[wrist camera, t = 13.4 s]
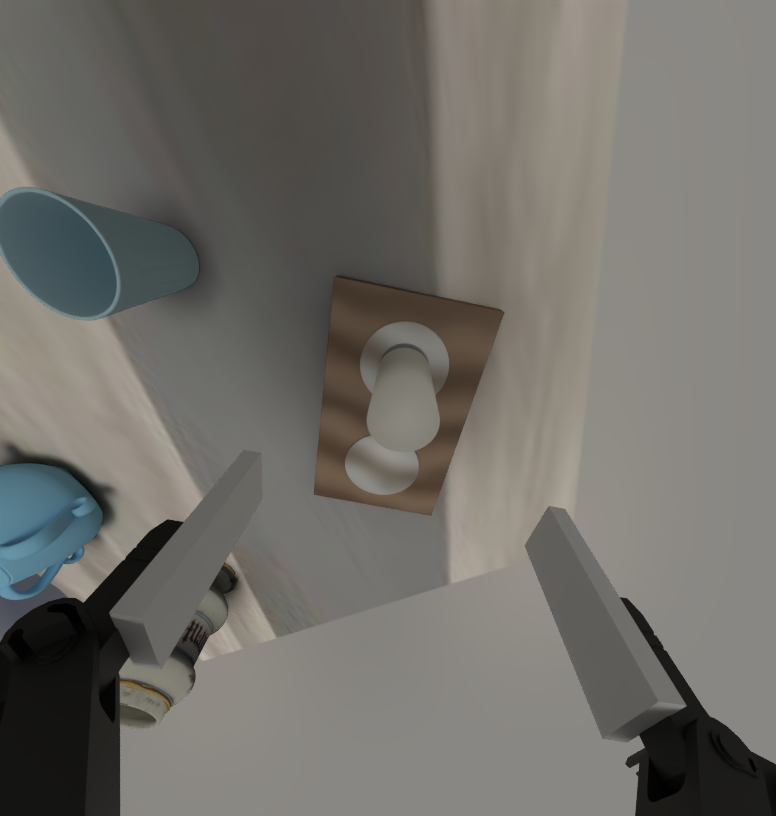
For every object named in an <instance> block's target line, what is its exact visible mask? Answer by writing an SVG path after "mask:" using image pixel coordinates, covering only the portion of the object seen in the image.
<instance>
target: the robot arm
mask: <svg viewBox="0 0 776 816" xmlns="http://www.w3.org/2000/svg"><path fill="white" fill-rule="evenodd" d="M261 500H262V465H261V453H258V452H252V451H247V450H243V452H242V453H241V454H240V455H239V456H238V458H237V459H236V460H235V461H234V462H233V464H232V465H231V466H230V467H229V468H228V470H227V471H226V472H225V473H224V475H223V476H222V477H221V478H220V479H219V481H218V482H217V483H216V484H215V485H214V487H213V488H212V489H211V490H210V491H209V493H208V494H207V495H206V496H205V497H204V499H203V500H202V501H201V502H200V503H199V505H198V506H197V507H196V508H195V510H194V511H193V512H192V513H191V514H190V516H189V517H188V518H187V519H186V520H185V522H180V521H174V520H168V519H167V520H166V521H164V522H163V523H161V524H160V525H158V526H157V527H155V528H154V529H152V530H151V531H150V532H149V533H148V534H147V535H146V536H145V537H144V538H143V539H142V540H141V541H140V542H139V543H138V544H137V547H136V548H134V549H133V550H132V551H131V552H130V553H129V554H128V555H127V556H126V559H125V560H123V561H122V562H121V563H120V564H119V565H118V566H117V567H116V568H115V569H114V570H113V572H112V573H111V574H110V575H109V576H108V577H107V578H106V579H105V580H104V581H103V582H102V583H101V584H100V586H99V587H98V588H97V589H96V590H95V591H94V592H93V593H92V594H91V595H90V596H89V597H88V599H87V600H86V601H85V602H84V603H83V602H81V601H80V600H78V599H76V598H61V599H57V600H53V601H49V602H47V603H45V604H43V605H41V606H39V607H37V608H35V609H33V610H31V611H30V612H29V613H27V614H26V615H24V616H23V617H22V618H20V619H19V620H17V621H16V622H15V623H14V625H13V626H12V627H11V628H10V629H9V630H8V631H7V632H6V633H5V635H4V636H3V638H2V640H1V642H0V816H120V675H119V671H120V669H121V668H122V667H123V665H124V664H125V662H126V661H127V659H128V658H129V657H130V659H131V661H132V664H133V666H137V667H143V668H150V669H156V670H161V669H162V668H163V666H164V664H165V663H166V661H167V659H168V657H169V656H170V654H171V652H172V651H173V649H174V647H175V646H176V644H177V642H178V640H179V639H180V637H181V635H182V634H183V632H184V630H185V629H186V627H187V625H188V624H189V622H190V620H191V618H192V617H193V615H194V613H195V612H196V610H197V608H198V607H199V605H200V603H201V601H202V600H203V598H204V596H205V595H206V593H207V591H208V590H209V588H210V586H211V585H212V583H213V581H214V579H215V578H216V576H217V574H218V573H219V571H220V569H221V568H222V566H223V564H224V562H225V561H226V559H227V557H228V556H229V554H230V552H231V551H232V549H233V547H234V545H235V544H236V542H237V540H238V539H239V537H240V535H241V534H242V532H243V530H244V529H245V527H246V525H247V523H248V522H249V520H250V518H251V517H252V515H253V513H254V512H255V510H256V508H257V506H258V505H259V503H260V501H261ZM525 548H526V550H527V553H528V555H529V558H530V560H531V562H532V565H533V567H534V570H535V572H536V575H537V577H538V580H539V582H540V585H541V587H542V590H543V592H544V595H545V597H546V599H547V602H548V605H549V607H550V610H551V612H552V614H553V617H554V619H555V622H556V624H557V627H558V629H559V632H560V634H561V637H562V639H563V642H564V644H565V646H566V649H567V651H568V654H569V657H570V659H571V662H572V664H573V666H574V669H575V671H576V674H577V676H578V679H579V681H580V684H581V686H582V689H583V691H584V694H585V696H586V698H587V701H588V704H589V706H590V708H591V711H592V713H593V716H594V718H595V721H596V723H597V726H598V728H599V731H600V733H601V736H602V738H603V739H608V740H614V741H621V742H629V741H630V740H632V739H633V738H635V737H637V736H638V735H639V736H640V738H641V740H642V742H643V744H644V746H645V748H644V749H642V750H640V751H638V752H637V753H635V754H633V755H632V756H630V757H628V759H627V761H626V765H627V766H628V767H629V768H631V767H632V766H634V765H636V764H638V763H639V771H638V772H637V773H636V775H637V776H638V789H637V801H636V813H635V816H776V764H774V763H772V762H770V761H768V760H766V759H764V758H763V757H761V756H759V755H757V754H755V753H753V752H751V751H750V750H749V749H748V748H747V746H746V745H745V744H744V743H743V742H742V741H741V739H740V738H739V737H738V736H737V735H735V733H734V732H732V731H731V730H730V729H729V728H728V727H727V726H726V725H724V724H722V723H721V722H719V721H718V720H716V719H715V718H712V717H710V716H709V715H708V714H707V712H706V711H705V709H704V708H703V707H702V705H701V704H700V702H699V701H698V699H697V698H696V696H695V694H694V693H693V691H692V690H691V688H690V687H689V685H688V684H687V682H686V681H685V679H684V678H683V676H682V674H681V673H680V671H679V670H678V669H677V667H676V665H675V664H674V662H673V661H672V659H671V658H670V656H669V655H668V653H667V651H665V650H664V649H663V645H662V644H661V642H660V641H659V639H658V638H657V636H655V635H654V632H653V630H652V629H651V627H650V626H649V624H648V622H647V621H646V619H645V618H644V616H643V615H642V614H641V613H640V611H638V609H637V608H636V607H635V606H634V605H633V604H632V603H631V602H630V601H629V600H628V599H627V598H621V597H619V596H618V594H617V592H616V591H615V589H614V588H613V586H612V584H611V583H610V581H609V579H608V578H607V576H606V575H605V573H604V571H603V570H602V568H601V567H600V565H599V563H598V562H597V560H596V558H595V557H594V555H593V554H592V552H591V550H590V549H589V547H588V546H587V544H586V542H585V541H584V539H583V537H582V536H581V534H580V533H579V531H578V529H577V528H576V526H575V525H574V523H573V521H572V520H571V518H570V516H569V515H568V513H567V512H566V510H565V509H562V508H557V507H551V506H549V507H548V508H547V510H546V511H545V513H544V515H543V516H542V518H541V520H540V521H539V523H538V524H537V526H536V528H535V529H534V531H533V533H532V534H531V536H530V538H529V539H528V541H527V542H526V544H525Z"/></svg>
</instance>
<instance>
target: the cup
mask: <svg viewBox="0 0 776 816" xmlns="http://www.w3.org/2000/svg"><path fill="white" fill-rule="evenodd" d="M0 254H1V256H2V258H3V260H4V262H5V264H6V265H7V267H8V268H9V270H10V271H11V273H12V274H13V276H14V277H15V278H16V279H17V281H18V282H19V283H20V284H21V285H22V286H23V287H24V288H25V289H26V290H27V291H28V292H29V293H30V294H31V295H32V296H33V297H34V298H35V299H37V300H38V301H39V302H41V303H42V304H43V305H45V306H46V307H48V308H50V309H51V310H53V311H55V312H57V313H59V314H61V315H64V316H66V317H70V318H73V319H78V320H97V319H100V318H103V317H106V316H109V315H112V314H115V313H117V312H120V311H123V310H126V309H128V308H131V307H134V306H137V305H140V304H143V303H146V302H148V301H151V300H154V299H157V298H160V297H163V296H166V295H168V294H171V293H174V292H177V291H180V290H182V289H185V288H187V287H189V286H190V285H192V284H193V283H194V282H195V281H196V279H197V276H198V273H199V261H198V257H197V254H196V252H195V249H194V248H193V246H192V244H191V243H190V241H189V240H188V239H187V238H186V237H185V236H184V235H183V234H182V233H181V232H179V231H178V230H176V229H174V228H172V227H170V226H167V225H164V224H161V223H158V222H154V221H151V220H147V219H144V218H140V217H137V216H133V215H130V214H126V213H123V212H119V211H116V210H112V209H109V208H105V207H102V206H98V205H95V204H91V203H88V202H84V201H81V200H77V199H74V198H71V197H67V196H64V195H60V194H57V193H53V192H50V191H46V190H43V189H39V188H32V187H21V188H16V189H13V190H10V191H8V192H7V193H5V194H4V195H3V196H2V197H1V198H0Z"/></svg>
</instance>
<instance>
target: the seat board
mask: <svg viewBox="0 0 776 816" xmlns="http://www.w3.org/2000/svg"><path fill="white" fill-rule="evenodd" d="M503 315H504V312H503V311H502V310H500V309H495V308H490V307H485V306H481V305H476V304H471V303H466V302H461V301H457V300H452V299H447V298H442V297H437V296H433V295H428V294H423V293H418V292H413V291H409V290H404V289H399V288H394V287H389V286H385V285H380V284H375V283H370V282H365V281H361V280H356V279H351V278H346V277H341V276H335V277H334V284H333V295H332V305H331V316H330V327H329V337H328V348H327V359H326V369H325V380H324V390H323V401H322V412H321V422H320V433H319V444H318V454H317V465H316V476H315V486H314V495H319V496H325V497H330V498H336V499H341V500H347V501H353V502H358V503H364V504H369V505H375V506H380V507H386V508H391V509H397V510H402V511H408V512H414V513H419V514H425V515H430V516H431V515H432V512H433V509H434V506H435V504H436V501H437V498H438V495H439V493H440V490H441V487H442V484H443V481H444V479H445V476H446V473H447V470H448V468H449V465H450V462H451V459H452V456H453V454H454V451H455V448H456V445H457V443H458V440H459V437H460V434H461V431H462V429H463V426H464V423H465V420H466V418H467V415H468V412H469V409H470V406H471V404H472V401H473V398H474V395H475V393H476V390H477V387H478V384H479V381H480V379H481V376H482V373H483V370H484V368H485V365H486V362H487V359H488V356H489V354H490V351H491V348H492V345H493V343H494V340H495V337H496V334H497V331H498V329H499V326H500V323H501V320H502V318H503ZM402 343H407V344H412V345H415V346H417V347H418V348H420V349H421V350H422V351H423V352H424V353H425V355H426V357H427V359H428V363H429V367H430V372H431V377H432V382H433V387H434V392H435V397H436V402H437V406H438V411H439V416H440V425H439V429H438V432H437V434H436V436H435V437H434V438H433V440H432V441H431V442H430V443H429V444H427V445H426V446H424V447H423V448H421V449H418V450H415V451H411V452H396V451H392V450H389V449H386V448H384V447H383V446H381V445H379V444H378V443H377V442H376V441H375V440H374V439H373V437H372V436H371V434H370V433H369V430H368V427H367V413H368V409H369V405H370V401H371V397H372V393H373V389H374V385H375V381H376V377H377V372H378V368H379V364H380V360H381V358H382V356H383V354H384V353H385V352H386V351H387V350H388V349H389V348H390V347H392V346H394V345H397V344H402Z"/></svg>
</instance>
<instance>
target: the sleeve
mask: <svg viewBox="0 0 776 816" xmlns="http://www.w3.org/2000/svg"><path fill="white" fill-rule="evenodd" d="M439 425H440V416H439V411H438V406H437V402H436V397H435V392H434V387H433V382H432V377H431V372H430V367H429V363H428V359H427V357H426V355H425V353H424V352H423V351H422V350H421V349H420V348H418V347H417V346H415V345H412V344H407V343H402V344H397V345H394V346H392V347H390V348H389V349H388V350H387V351H386V352H385V353H384V354H383V356H382V358H381V360H380V364H379V368H378V372H377V377H376V381H375V385H374V389H373V393H372V397H371V401H370V405H369V409H368V413H367V427H368V430H369V433H370V434H371V436H372V437H373V439H374V440H375V441H376V442H377V443H378V444H379V445H381V446H383V447H384V448H386V449H389V450H392V451H396V452H411V451H415V450H418V449H421V448H423V447H424V446H426V445H427V444H429V443H430V442H431V441H432V440H433V438H434V437H435V436H436V434H437V432H438V429H439Z"/></svg>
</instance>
